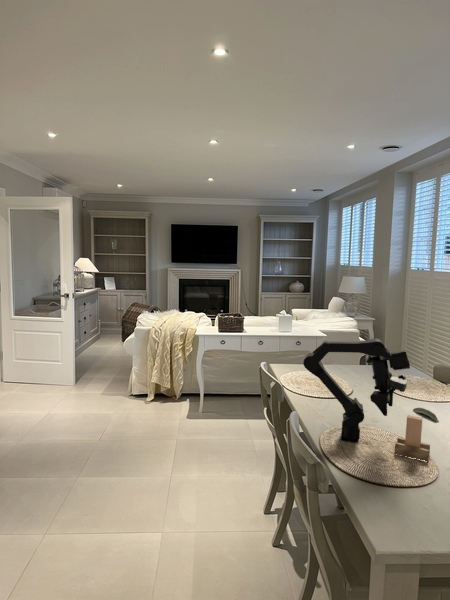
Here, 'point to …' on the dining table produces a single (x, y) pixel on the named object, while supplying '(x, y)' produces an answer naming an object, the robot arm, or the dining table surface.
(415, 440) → the clay block
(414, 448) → the tan u-shaped channel
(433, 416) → the ceramic fragment
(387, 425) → the dining table surface
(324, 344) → the robot arm
